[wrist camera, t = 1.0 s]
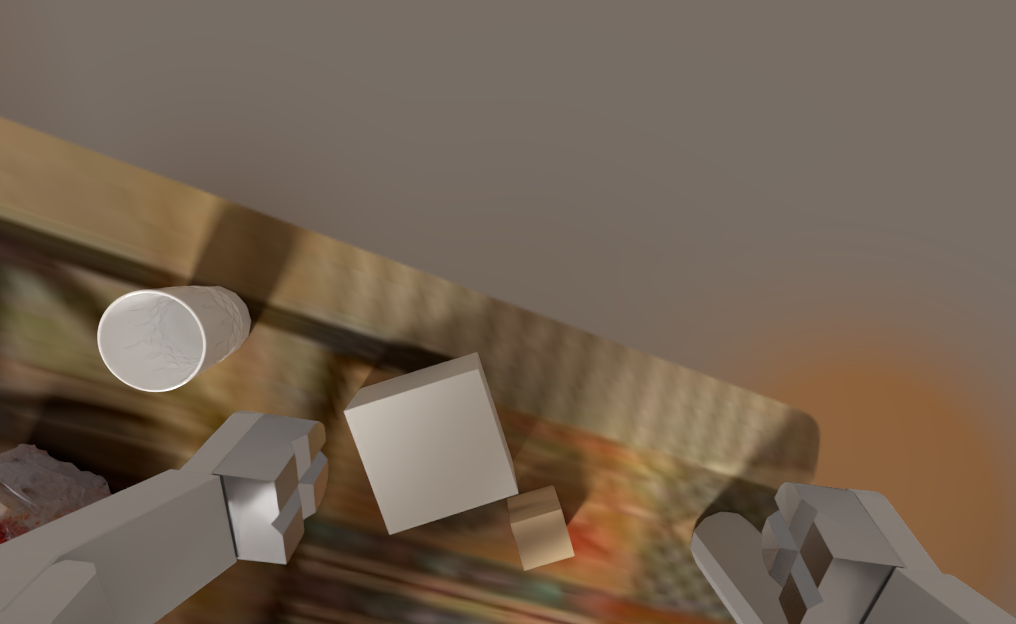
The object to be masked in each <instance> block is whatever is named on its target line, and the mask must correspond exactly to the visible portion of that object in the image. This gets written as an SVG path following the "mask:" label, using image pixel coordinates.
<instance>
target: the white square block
mask: <svg viewBox="0 0 1016 624" xmlns="http://www.w3.org/2000/svg"><path fill="white" fill-rule="evenodd" d="M344 414H345V416H346V419H347V422H348V424H349V427H350V430H351V432H352V435H353V438H354V441H355V443H356V446H357V449H358V451H359V454H360V457H361V459H362V462H363V465H364V468H365V470H366V473H367V476H368V478H369V481H370V484H371V486H372V489H373V492H374V495H375V497H376V500H377V503H378V505H379V508H380V511H381V514H382V516H383V519H384V522H385V524H386V527H387V530H388V532H389V535H391V534H394V533H397V532H400V531H403V530H407V529H410V528H413V527H416V526H419V525H422V524H425V523H428V522H431V521H435V520H438V519H441V518H444V517H447V516H450V515H453V514H456V513H460V512H463V511H466V510H469V509H472V508H475V507H478V506H481V505H485V504H488V503H491V502H494V501H497V500H500V499H503V498H506V497H510V496H513V495H516V494H519V493H518V488H517V483H516V477H515V472H514V466H513V461H512V458H511V455H510V452H509V449H508V446H507V442H506V439H505V436H504V433H503V430H502V427H501V424H500V421H499V418H498V414H497V411H496V408H495V405H494V402H493V399H492V396H491V393H490V390H489V386H488V383H487V380H486V377H485V374H484V371H483V368H482V365H481V362H480V358H479V355H478V352H475V353H472V354H469V355H466V356H462V357H459V358H456V359H453V360H450V361H446V362H443V363H440V364H437V365H434V366H431V367H427V368H424V369H421V370H418V371H415V372H411V373H408V374H405V375H402V376H399V377H395V378H392V379H389V380H386V381H383V382H379V383H376V384H373V385H370V386H367V387H363V388H360V389H359V391H358V392H357V393H356V395H355V396H354V398H353V399H352V400H351V402H350V403H349V404H348V406H347V407H346V409H345V410H344Z"/></svg>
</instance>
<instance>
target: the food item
mask: <svg viewBox="0 0 1016 624" xmlns="http://www.w3.org/2000/svg"><path fill="white" fill-rule="evenodd" d="M111 495H113V494H111V493H110V490H109V487H108V484H107V481H106V480H105V479H104V477H102V476H100V475H95V474H93V473H91V472H89V471H80V470H79V469H78V468H77V467H75V466H74V465H73V464H72V463H68V462H61V461H58V460H56V459H54V458H53V457H51V456H49V455H48V453H47V451H45V450H39V449H37V448H36V446H35V445H28V444H19V445H18V447H17V448H15V449H11V450H9V451H6V452H3V453H1V454H0V544H2V543H5V542H7V541H9V540H11V539H14V538H16V537H18V536H21V535H23V534H25V533H27V532H30V531H32V530H34V529H36V528H39V527H41V526H43V525H45V524H48V523H50V522H52V521H54V520H57V519H59V518H61V517H63V516H66V515H68V514H70V513H72V512H75V511H77V510H79V509H82V508H84V507H86V506H88V505H91V504H93V503H95V502H97V501H100V500H102V499H104V498H106V497H109V496H111Z"/></svg>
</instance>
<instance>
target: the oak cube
mask: <svg viewBox="0 0 1016 624" xmlns="http://www.w3.org/2000/svg"><path fill="white" fill-rule="evenodd" d="M507 504H508V511H509V519H510V525H511V528H512V532H513V535H514V538H515V542H516V545H517V548H518V552H519V555H520V558H521V562H522V565H523V568H524V571H525V570H529V569H532V568H535V567H539V566H542V565H545V564H549V563H552V562H555V561H559V560H562V559H565V558H569V557H572V556H575V555H574V552H573V548H572V545H571V541H570V538H569V534H568V530H567V527H566V523H565V520H564V516H563V513H562V509H561V506H560V503H559V500H558V497H557V494H556V491H555V488H554V485H550V486H547V487H544V488H540V489H537V490H534V491H530V492H527V493H523V494H520V495H517V496H513V497H510V498H507Z"/></svg>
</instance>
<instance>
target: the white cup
mask: <svg viewBox="0 0 1016 624" xmlns="http://www.w3.org/2000/svg"><path fill="white" fill-rule="evenodd" d="M250 325H251V318H250V315H249V312H248V308H247V305H246V304H245V303H244V302H243V301H242V300H241V299H240V298H239V296H238V295H237V294H236V293H234V292H232V291H230V290H228V289H225V288H223V287H221V286H182V287H168V288H158V289H147V290H138V291H134V292H130V293H128V294H125V295H123V296H121V297H120V298H118V299H117V300H115V301H114V302H113V303H112V304H111V305H110V306H109V307H108V308H107V309H106V311H105V312H104V314H103V316H102V318H101V320H100V323H99V327H98V336H97V338H98V347H99V351H100V354H101V356H102V359H103V361H104V362H105V364H106V366H107V367H108V368H109V370H110V371H111V372H112V373H113V374H114V375H115V376H116V377H117V378H118V379H120V380H121V381H122V382H124V383H126V384H127V385H129V386H131V387H134V388H137V389H140V390H144V391H150V392H162V391H169V390H172V389H175V388H178V387H180V386H182V385H184V384H185V383H187V382H189V381H190V380H192V379H193V378H195V377H197V376H198V375H200V374H202V373H203V372H205V371H207V370H208V369H210V368H211V367H213V366H214V365H216V364H217V363H219V362H220V361H222V360H223V359H225V358H226V357H227V356H228V355H229V354H231V353H232V352H234V351H236V350H238V349H239V348H240V347H241V345H242V344H243V343H244V341H245V340H246V339H247V337H248V336H249V331H250Z"/></svg>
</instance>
